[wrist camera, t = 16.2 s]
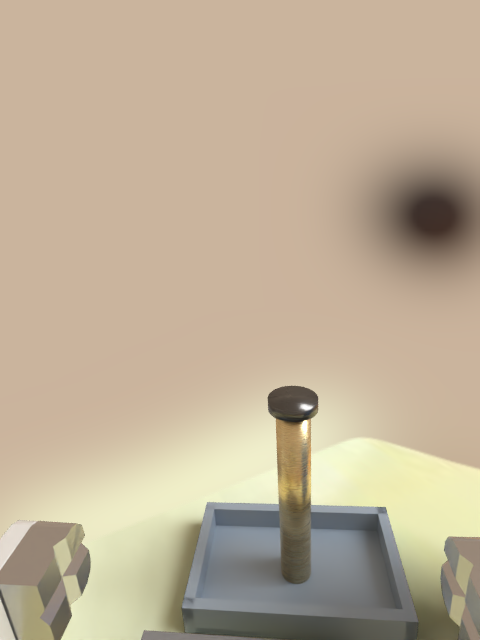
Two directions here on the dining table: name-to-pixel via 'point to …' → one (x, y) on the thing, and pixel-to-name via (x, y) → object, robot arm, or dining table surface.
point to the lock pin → (294, 477)
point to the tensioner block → (190, 636)
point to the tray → (298, 599)
